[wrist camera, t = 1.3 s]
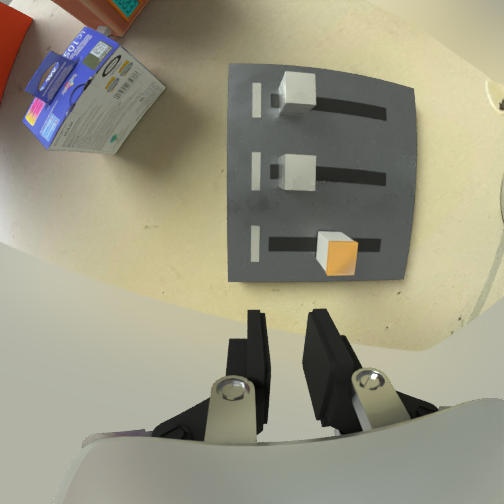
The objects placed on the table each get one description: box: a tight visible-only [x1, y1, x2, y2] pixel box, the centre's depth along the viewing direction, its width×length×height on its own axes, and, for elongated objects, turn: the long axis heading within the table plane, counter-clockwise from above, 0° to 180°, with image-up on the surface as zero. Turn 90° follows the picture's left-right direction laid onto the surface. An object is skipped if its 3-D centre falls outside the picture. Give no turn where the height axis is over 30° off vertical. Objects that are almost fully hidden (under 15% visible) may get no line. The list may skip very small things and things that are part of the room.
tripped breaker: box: [316, 231, 358, 276], centre depth 25 cm, size 2×3×4 cm
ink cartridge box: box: [22, 27, 166, 155], centre depth 19 cm, size 10×6×14 cm, turn 139°
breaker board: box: [227, 64, 417, 282], centre depth 24 cm, size 20×22×8 cm
